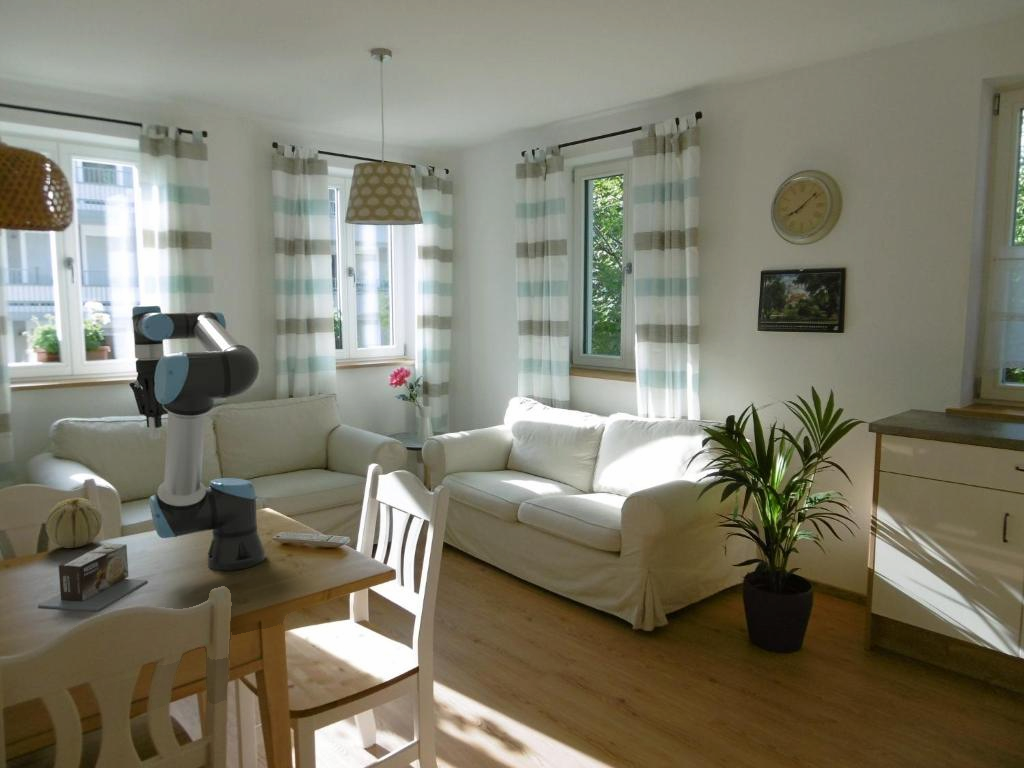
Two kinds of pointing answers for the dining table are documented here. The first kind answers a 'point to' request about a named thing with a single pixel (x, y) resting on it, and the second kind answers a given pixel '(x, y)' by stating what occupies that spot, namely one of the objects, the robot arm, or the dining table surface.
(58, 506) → the cantaloupe
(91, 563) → the coffee box
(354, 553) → the dining table surface
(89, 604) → the slate mat
